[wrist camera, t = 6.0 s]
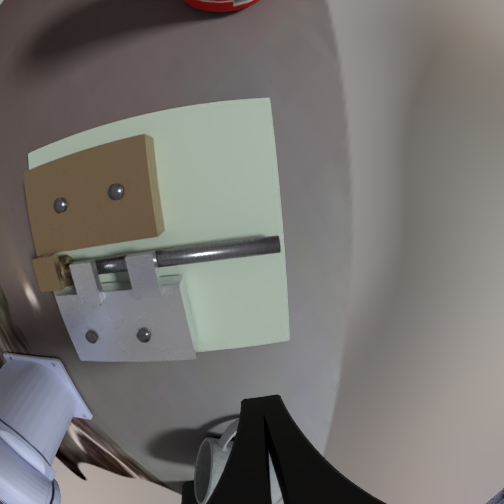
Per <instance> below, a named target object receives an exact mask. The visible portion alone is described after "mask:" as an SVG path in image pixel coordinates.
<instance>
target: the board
mask: <svg viewBox="0 0 504 504" xmlns="http://www.w3.org/2000/svg"><path fill="white" fill-rule="evenodd" d="M141 134H146V135H149V136H151V137H153V138H154V149H155V159H156V168H157V177H158V185H159V192H160V200H161V207H162V213H163V220H164V226H165V231H164V232H163V233H162V234H161V235H160V236H158V237H154V238H147V239H140V240H134V241H127V242H120V243H114V244H108V245H101V246H95V247H89V248H83V249H77V250H71V251H65V252H60V253H57V255H58V257H59V256H65V255H69V256H70V257H71V258H72V259H73V260H74V262H77V261H84V260H91V259H97V258H104V257H112V256H119V255H126V254H133V253H140V252H148V251H155V250H163V249H170V248H178V247H186V246H193V245H201V244H209V243H217V242H225V241H233V240H241V239H250V238H258V237H266V236H275V235H278V236H279V239H280V245H281V252H280V253H274V254H266V255H258V256H250V257H242V258H234V259H226V260H218V261H210V262H201V263H193V264H185V265H177V266H168V267H160V268H158V269H159V274H160V277H168V276H176V275H184V281H185V286H186V291H187V295H188V300H189V305H190V309H191V314H192V318H193V323H194V327H195V331H196V336H197V340H198V344H199V347H198V352H201V351H212V350H222V349H232V348H240V347H248V346H256V345H263V344H270V343H277V342H283V341H289V340H290V336H289V315H288V296H287V279H286V264H285V249H284V236H283V223H282V211H281V199H280V188H279V177H278V167H277V157H276V148H275V138H274V129H273V121H272V112H271V104H270V98H255V99H241V100H231V101H221V102H213V103H205V104H198V105H191V106H185V107H179V108H174V109H168V110H163V111H158V112H154V113H149V114H145V115H140V116H136V117H132V118H128V119H124V120H121V121H117V122H113V123H110V124H106V125H103V126H100V127H97V128H93V129H90V130H87V131H84V132H81V133H78V134H76V135H73V136H70V137H67V138H65V139H62V140H59V141H57V142H54V143H52V144H49V145H47V146H44V147H42V148H40V149H37V150H35V151H33V152H31V153H28V161H29V170H30V169H32V168H35V167H37V166H40V165H42V164H45V163H48V162H50V161H53V160H56V159H58V158H61V157H64V156H67V155H70V154H73V153H76V152H79V151H82V150H85V149H88V148H92V147H95V146H98V145H102V144H105V143H109V142H113V141H116V140H120V139H124V138H128V137H132V136H137V135H141ZM54 254H56V253H54ZM48 255H50V254H48ZM43 256H45V255H43ZM99 279H100V282H101V284H103V283H113V282H122V281H130V278H129V274H128V271H127V272H118V273H110V274H101V275H99ZM73 286H75V284H73V285H72V286H66V287H73ZM66 287H65V288H66ZM61 291H62V290H58V291H53V292H54V295H55V296H56V295H57V294H58V293H60V292H61ZM58 307H59V306H58ZM59 310H60V309H59ZM62 318H63V317H62ZM65 326H66V325H65ZM67 331H68V330H67ZM70 338H71V337H70ZM73 345H74V344H73ZM77 354H78V353H77Z"/></svg>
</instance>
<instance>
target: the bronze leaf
mask: <svg viewBox="0 0 504 504" xmlns="http://www.w3.org/2000/svg"><path fill="white" fill-rule="evenodd" d="M23 174H24V185H25V193H26V201H27V208H28V214H29V220H30V226H31V231H32V236H33V241H34V245H35V249H36V254H37V256H39V257H35V258H34V259H32V264H33V268H34V271H35V275H36V278H37V281H38V285H39V288H40V291H41V292H47V291H58V290H63V289H64V288H65V287H66V286H72V285H73V284H74V281H73V278H72V274H71V270H70V267H69V265H70V264H72V263H73V262H74V260H73V259H72V258H71V257H70V256H69V255H65V256H59V257H58V255H57V253H60V252H65V251H71V250H77V249H83V248H89V247H95V246H101V245H108V244H114V243H120V242H127V241H134V240H140V239H147V238H154V237H158V236H160V235H161V234H162V233H163V232H164V231H165V226H164V220H163V213H162V207H161V200H160V192H159V185H158V177H157V168H156V159H155V149H154V138H153V137H151V136H149V135H146V134H141V135H137V136H132V137H128V138H124V139H120V140H116V141H113V142H109V143H105V144H102V145H98V146H95V147H92V148H88V149H85V150H82V151H79V152H76V153H73V154H70V155H67V156H64V157H61V158H58V159H56V160H53V161H50V162H48V163H45V164H42V165H40V166H37V167H35V168H32V169H30V170H28V171H25V172H23ZM280 252H281V245H280V239H279V236H278V235H275V236H266V237H258V238H250V239H241V240H233V241H225V242H217V243H209V244H201V245H193V246H186V247H178V248H170V249H163V250H155V255H156V260H157V265H158V268H160V267H168V266H177V265H185V264H193V263H201V262H210V261H218V260H226V259H234V258H242V257H250V256H258V255H266V254H274V253H280ZM54 253H56V254H54ZM140 253H141V252H140ZM48 254H50V255H48ZM133 254H134V253H133ZM43 255H45V256H43ZM127 255H128V254H126V255H119V256H112V257H104V258H97V259H95V263H96V267H97V271H98V275H101V274H110V273H118V272H127V271H128V269H127V265H126V261H125V257H126V256H127Z"/></svg>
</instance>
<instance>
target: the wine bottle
mask: <svg viewBox="0 0 504 504" xmlns="http://www.w3.org/2000/svg"><path fill="white" fill-rule="evenodd" d="M181 504H198V502H197V500H196V497H195V490H194V481H189V482H186V483H184V484H183V487H182V503H181Z"/></svg>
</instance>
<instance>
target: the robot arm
mask: <svg viewBox="0 0 504 504" xmlns="http://www.w3.org/2000/svg"><path fill="white" fill-rule="evenodd" d="M3 356H4V358H5V360H6V363H5V364H4V365H3V366H2V367H1V369H0V500H1V501H2V502H3V503H5V504H60V502H61V494H60V489H59V485H58V483H57V481H56V480H55V479H54V476H55V473H56V471H55V470H54V469H52V468H51V467H50V466H51V464H52V461H53V459H54V457H55V455H56V452H57V450H58V448H59V446H60V443H61V441H62V439H63V437H64V435H65V432H66V430H67V428H68V426H69V424H70V422H71V420H72V418H73V417H78V418H84V419H92V417H93V415H92V414H91V412H90V411H89V409H88V407H87V406H86V404H85V403H84V401H83V399H82V398H81V396H80V394H79V393H78V391H77V389H76V388H75V386H74V384H73V382H72V381H71V379H70V377H69V375H68V373H67V371H66V369H65V367H64V365H63V364H62V362H61V361H60V360H59V359H57V358H46V357H37V356H28V355H20V354H13V353H7V352H5V353H4V354H3ZM269 454H270V457H271V461H272V464H273V467H274V471H275V474H276V477H277V481H278V484H279V487H280V491H281V494H282V497H283V501H284V504H386V503H384V502H382V501H381V500H379V499H377V498H375V497H373V496H372V495H370V494H369V493H367V492H366V491H364V490H363V489H361V488H360V487H358V486H357V485H355V484H354V483H352V482H351V481H350V480H349V479H347V478H346V477H345V476H344V475H342V474H341V473H340V472H339V471H337V470H336V469H335V468H334V467H333V466H332V465H331V464H330V463H329V462H328V461H327V460H326V459H325V458H324V457H323V456H322V455H321V454H320V453H319V452H318V451H317V450H316V449H315V448H314V446H313V445H312V444H311V443H310V442H309V440H308V439H307V438H306V437H305V435H304V434H303V433H302V431H301V430H300V429H299V427H298V426H297V425H296V423H295V422H294V420H293V419H292V417H291V416H290V414H289V412H288V411H287V409H286V407H285V405H284V403H283V401H282V399H281V396H279V395H271V396H265V397H257V398H250V399H244V400H242V401H241V412H240V418H239V423H238V428H237V432H236V436H235V439H234V443H233V446H232V449H231V452H230V455H229V457H228V460H227V462H226V465H225V468H224V470H223V472H222V474H221V477H220V479H219V481H218V483H217V485H216V487H215V489H214V491H213V492H212V494H211V496H210V498H209V499H208V501H207V503H206V504H272V498H271V482H270V466H269ZM1 501H0V504H3V503H2V502H1ZM486 504H504V488H503V489H502V490H501V491H500V492H499V493H498V494H497V495H495V496H494V497H493V498H492V499H491V500H490V501H488V502H487V503H486Z"/></svg>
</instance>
